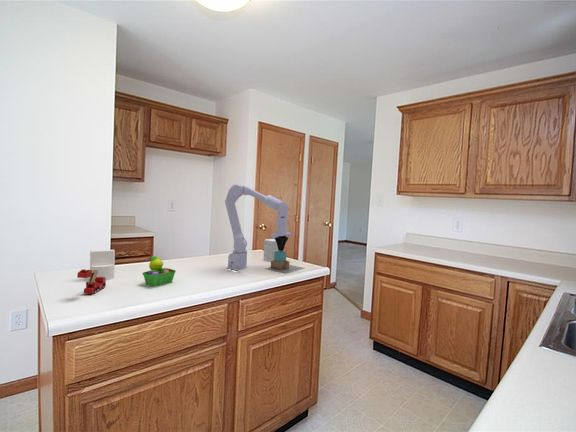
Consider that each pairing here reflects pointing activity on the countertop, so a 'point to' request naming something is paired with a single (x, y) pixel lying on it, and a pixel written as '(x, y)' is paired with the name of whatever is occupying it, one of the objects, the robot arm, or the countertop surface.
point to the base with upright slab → (103, 263)
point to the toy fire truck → (92, 281)
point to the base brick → (280, 265)
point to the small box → (270, 249)
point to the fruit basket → (158, 273)
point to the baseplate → (291, 269)
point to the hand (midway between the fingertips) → (280, 250)
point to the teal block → (280, 256)
